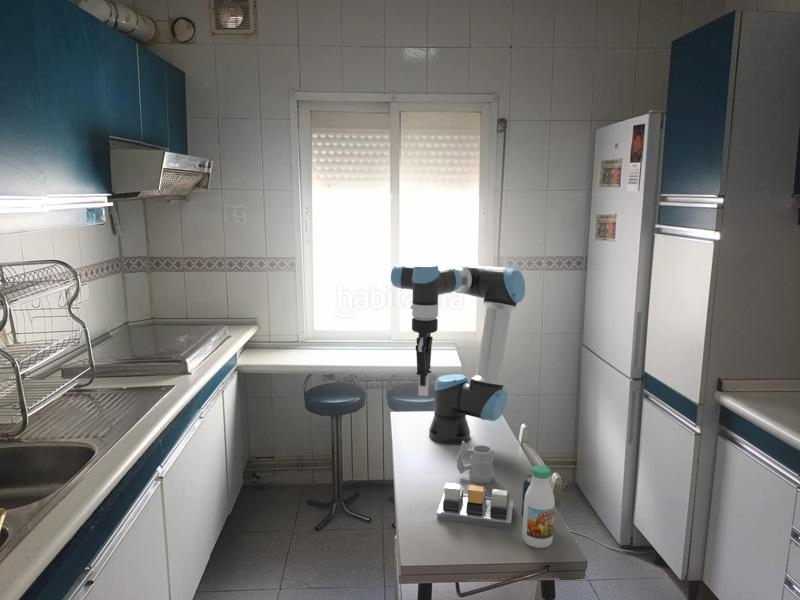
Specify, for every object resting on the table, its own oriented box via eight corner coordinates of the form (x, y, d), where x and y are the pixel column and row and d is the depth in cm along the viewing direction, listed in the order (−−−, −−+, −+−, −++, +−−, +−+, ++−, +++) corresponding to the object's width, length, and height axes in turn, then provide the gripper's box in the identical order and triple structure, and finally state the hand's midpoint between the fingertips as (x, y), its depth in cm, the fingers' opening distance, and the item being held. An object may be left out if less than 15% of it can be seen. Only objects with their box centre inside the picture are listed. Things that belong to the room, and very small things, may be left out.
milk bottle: (516, 540, 151) (519, 468, 147) (532, 528, 156) (536, 459, 153) (542, 553, 145) (546, 478, 142) (558, 540, 151) (562, 468, 147)
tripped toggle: (468, 496, 162) (469, 484, 161) (483, 498, 161) (483, 486, 160) (467, 501, 159) (467, 489, 158) (482, 503, 158) (482, 491, 157)
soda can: (519, 512, 164) (521, 473, 162) (543, 513, 164) (546, 473, 162) (524, 526, 157) (526, 485, 155) (549, 526, 157) (552, 485, 155)
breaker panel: (444, 497, 171) (445, 470, 170) (513, 507, 167) (514, 479, 165) (437, 519, 160) (437, 490, 158) (510, 530, 155) (512, 500, 154)
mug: (493, 484, 180) (495, 448, 178) (455, 482, 181) (456, 446, 179) (492, 473, 187) (494, 438, 185) (455, 471, 188) (457, 436, 186)
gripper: (417, 312, 176) (415, 387, 180) (407, 321, 164) (406, 401, 168) (441, 314, 174) (439, 389, 178) (433, 323, 162) (431, 403, 166)
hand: (423, 394), depth 173 cm, fingers closed
